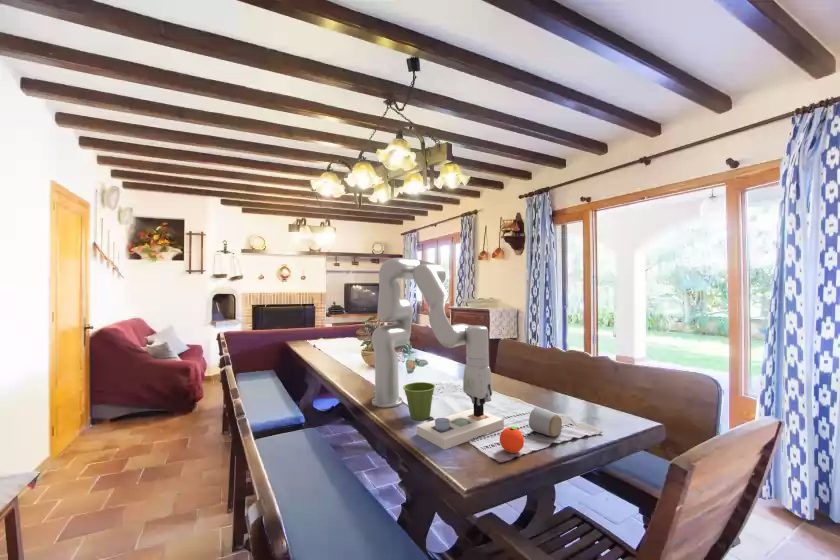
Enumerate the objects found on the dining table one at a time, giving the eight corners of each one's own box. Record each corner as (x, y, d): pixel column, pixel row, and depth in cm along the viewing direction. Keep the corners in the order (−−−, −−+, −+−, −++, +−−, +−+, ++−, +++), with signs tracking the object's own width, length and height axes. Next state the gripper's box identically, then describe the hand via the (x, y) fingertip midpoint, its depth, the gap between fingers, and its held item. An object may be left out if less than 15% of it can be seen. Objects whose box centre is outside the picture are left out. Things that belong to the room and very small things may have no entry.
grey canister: (551, 440, 119) (550, 416, 119) (528, 432, 125) (528, 409, 125) (568, 432, 125) (568, 408, 125) (546, 425, 132) (546, 402, 132)
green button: (451, 429, 127) (451, 420, 127) (461, 426, 130) (461, 417, 130) (460, 434, 124) (460, 424, 124) (470, 430, 126) (470, 421, 126)
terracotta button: (468, 424, 132) (468, 414, 132) (478, 421, 135) (478, 411, 135) (478, 428, 128) (478, 418, 128) (487, 424, 131) (487, 415, 131)
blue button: (432, 429, 123) (432, 419, 123) (443, 426, 125) (443, 416, 125) (441, 434, 119) (441, 424, 119) (452, 430, 122) (452, 420, 122)
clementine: (508, 443, 117) (507, 420, 117) (529, 449, 113) (529, 425, 113) (495, 452, 111) (495, 428, 111) (517, 459, 107) (517, 434, 107)
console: (416, 434, 125) (416, 425, 125) (474, 416, 140) (474, 408, 140) (444, 449, 114) (444, 439, 114) (503, 428, 129) (503, 419, 129)
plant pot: (423, 409, 149) (423, 380, 149) (442, 418, 139) (441, 387, 139) (397, 415, 142) (397, 385, 142) (415, 425, 132) (414, 393, 132)
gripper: (454, 360, 135) (455, 412, 135) (486, 367, 123) (487, 424, 123) (470, 357, 140) (471, 407, 140) (501, 364, 128) (502, 419, 128)
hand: (478, 415), depth 132 cm, fingers closed
